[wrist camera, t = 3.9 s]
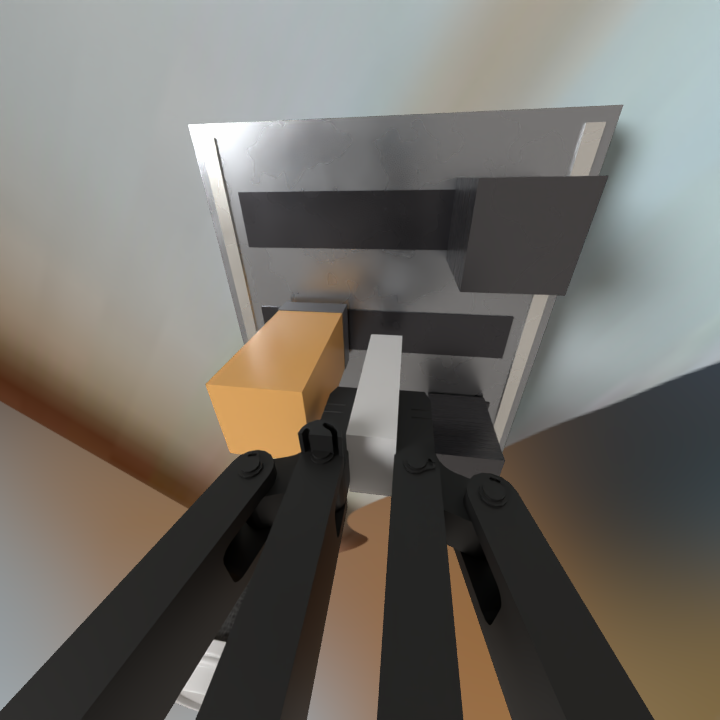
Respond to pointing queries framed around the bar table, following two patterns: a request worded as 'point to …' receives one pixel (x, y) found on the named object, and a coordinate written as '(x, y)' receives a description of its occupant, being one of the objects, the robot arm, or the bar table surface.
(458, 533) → the robot arm
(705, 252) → the bar table surface
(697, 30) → the bar table surface
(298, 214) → the panel
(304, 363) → the breaker handle
